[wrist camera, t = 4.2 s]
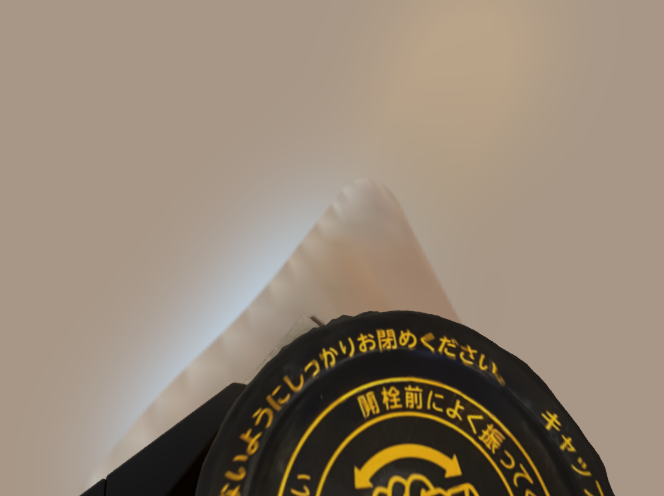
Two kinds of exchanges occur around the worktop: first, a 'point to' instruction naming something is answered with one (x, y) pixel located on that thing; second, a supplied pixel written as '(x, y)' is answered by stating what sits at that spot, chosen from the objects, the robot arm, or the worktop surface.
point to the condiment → (397, 418)
